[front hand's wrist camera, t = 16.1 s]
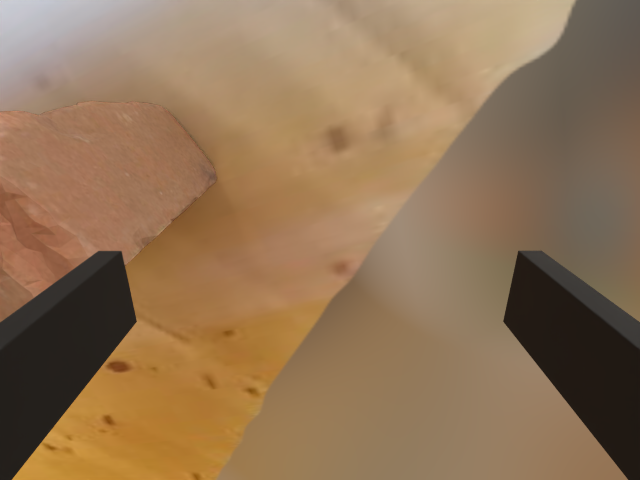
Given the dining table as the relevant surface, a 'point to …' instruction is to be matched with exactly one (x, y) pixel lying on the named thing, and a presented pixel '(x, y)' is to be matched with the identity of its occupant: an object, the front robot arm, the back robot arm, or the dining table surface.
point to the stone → (88, 188)
